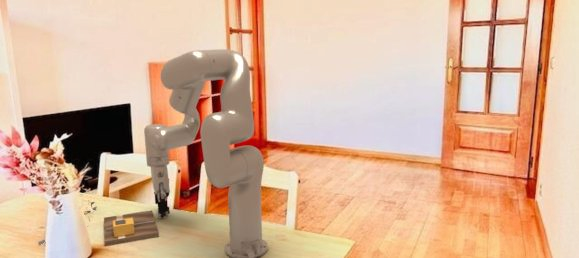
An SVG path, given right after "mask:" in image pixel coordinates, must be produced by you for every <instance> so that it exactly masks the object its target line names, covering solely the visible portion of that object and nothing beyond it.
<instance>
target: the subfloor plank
mask: <svg viewBox="0 0 579 258" xmlns="http://www.w3.org/2000/svg"><path fill="white" fill-rule="evenodd" d="M127 218H133V222H134V232H135V234H130V235H125V236H119V237H114V230H113V221H114V220H121V219H127ZM158 229H159V228H158V226H157V222H156V219H155V215H154V213H153V210H151V209H150V210H144V211H139V212H132V213H125V214H117V215H111V216H105V217H103V231H104V232H103V236H104V237H103V241H104V242H103V243H104V247H107V246H113V245H118V244H125V243H130V242H136V241H140V240H142V241H143V240H147V239H154V238H159V236H160V235H159V230H158Z"/></svg>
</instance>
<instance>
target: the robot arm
mask: <svg viewBox="0 0 579 258" xmlns="http://www.w3.org/2000/svg"><path fill="white" fill-rule="evenodd" d="M250 72H251V71H250V66H249V63H248V61H247V59H246V58H245V56H243V55H242V54H241V53H240V52H238V51H236V50H232V49H224V48H222V49H221V48H219V49H217V48H216V49H199V50H192V51H188V52H185V53H183V54H181V55H179V56H177V57H174V58H172V59H169V60H168V61H166V62H165V63H164V65H163V66H162V68H161V71H160V80H161V84H162V86H163V87H164V88H166V89H167V90H171V94H170V96H169V99H168V101H169V102H168V103H169V105H170V106H171V108H172V109H174V110H175V111H176V112H178V113H180V114H184V117H183V121H182V122H181V124H175V125H170V126H167V125H165V124H162V123H154V124H152V123H151V124H148V125H146V126H145V127H144V143H145V154H146V157H145V158H146V166H147V167H150V174H151V175H150V176H151V183H152V188H153V192H155V194H157V195H158V198H156V197H155V196H154V203H155V205H157V213H158V212H159V213H162V212H167V211H168V207H169V206H168V200H167V198H168V197H167V198H166V192H168V193H169V192H171V191H170V190H171V189H170V180H169V171H168V165H170V154H169V153H170V151H171V150H174V149H178V148H181V147H186V146H189V145H190V144H192V143H193V142H194V141H195V139H196V137H197V134H198V132H199V130H200V141H201V148H202V154H203V155H202V156H203V163H204V169H205V174H206V177H207V179H208V181H209V183H210V184H211V185H213V186H214V188H215V187H216V188H218V189H222V188H227V187H229V188H228V196H227V197H228V225H229V241H228V242H227V243H226V245H224V252H225V254H226V255H227V256H228V257H230V258H259V257H261V256H263V255H265V253H266V252H267V251H268V248H269V247H268V243H267V242H266V241H265V240H264V239H263V228H262V227H263V225H262V223H263V222H262V221H263V219H262V182H263V181H262V180H263V175H264V174H263V173H264V166H265V164H264V163H265V161H264V157H263V154H262V152H261V151H260V150H259V148H257V147H255V146H253V145H241V146H237V147H233V148H230V147H231V145H235V144H240V143H243V142H246V141H248V140H250V139H251V138H252V137H253V136H254V133H255V122H254V114H253V113H254V112H253V106H252V97H251V73H250ZM218 80H224V81H223V83H222V85H221V86H222V87H221V90H220V92H219V93H220V95H219V99H220V106H221V110H220V111H218V112H212V113H210V114H209V115H207V116H206V117H205V118H204V119H203V121H202V123H201V119H200V113H199V112H198V110H197V105H198V103H199V100H200V99H201V98H200V97H201V95H202V92H203V90H204V87H205V84H206V83H207V82H209V81H218ZM200 125H201V127H200ZM159 192H160V193H159ZM155 194H154V195H155ZM169 194H170V193H169ZM159 195H161V196H159Z"/></svg>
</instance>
